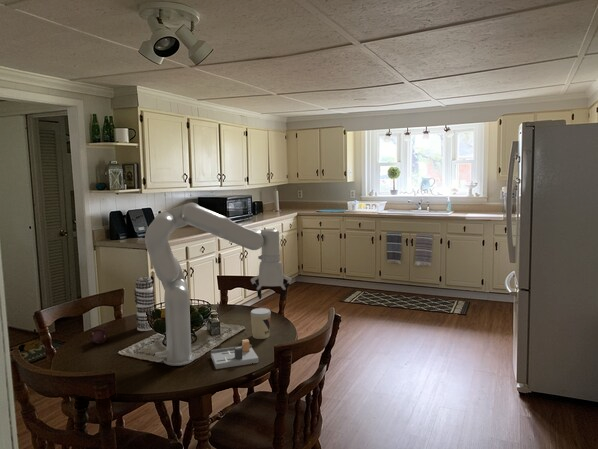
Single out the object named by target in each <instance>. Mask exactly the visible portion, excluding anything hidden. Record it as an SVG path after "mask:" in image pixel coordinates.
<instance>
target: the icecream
mask: <svg viewBox="0 0 598 449" xmlns="http://www.w3.org/2000/svg"><path fill="white" fill-rule="evenodd" d="M107 329H108V326H107V325H104V326H102V327H100V328H95V329H94V330H92V331H91V332H89V333H90V336H89V337H90V339H91V342H93V343H94V344H96V345H97V344H98V345H99V344H104V343H105V342H106V341H107V338H108V332H107Z"/></svg>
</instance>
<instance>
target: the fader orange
mask: <svg viewBox="0 0 598 449" xmlns="http://www.w3.org/2000/svg"><path fill="white" fill-rule="evenodd" d="M250 345H251V344H250V340H249V339H248V338H247V339H242V340H241V346H242V349H243V351H244V352H247V351H250Z"/></svg>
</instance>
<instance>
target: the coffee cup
mask: <svg viewBox="0 0 598 449" xmlns="http://www.w3.org/2000/svg"><path fill="white" fill-rule="evenodd" d="M271 314H272V312H271V310H270V308H265V307H258V308H253V309H252V310H251V311H250V319H251V320H250V321H251V323H250V324H251V331H252V338H254V339H257V340H264V339H268V338H269V337H270V331H271Z"/></svg>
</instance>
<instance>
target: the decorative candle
mask: <svg viewBox="0 0 598 449" xmlns="http://www.w3.org/2000/svg"><path fill="white" fill-rule="evenodd" d="M153 282H154V281H153V279H152V278H150V277H149V276H141V277H138V278H137V279H136V281H134V283H135V289H134V290H133V292H134V299H135V300H134V302H135V306H136V315H135V317H136V318H135V320H136V322H135V323H136V327H137V328H136V330H137V331H140V332H147V331H151V330H153V329H152V328H151V327H150V326H149V323H148V321H147V315H146V311H147V310H149V309H150V310H154V311H155V309H154V305H155V302H154V301H155V299H154V297H155V294H154V293H155V291H154V287H153Z"/></svg>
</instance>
